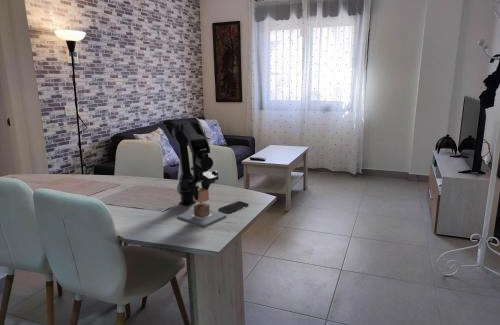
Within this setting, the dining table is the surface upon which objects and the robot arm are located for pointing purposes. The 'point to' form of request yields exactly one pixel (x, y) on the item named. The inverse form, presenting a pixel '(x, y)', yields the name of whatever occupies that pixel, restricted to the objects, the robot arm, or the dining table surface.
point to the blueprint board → (202, 221)
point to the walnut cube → (201, 210)
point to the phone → (233, 207)
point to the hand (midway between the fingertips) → (200, 198)
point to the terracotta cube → (202, 195)
